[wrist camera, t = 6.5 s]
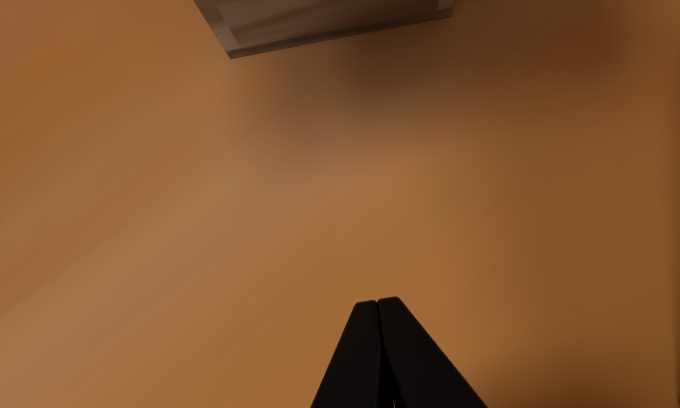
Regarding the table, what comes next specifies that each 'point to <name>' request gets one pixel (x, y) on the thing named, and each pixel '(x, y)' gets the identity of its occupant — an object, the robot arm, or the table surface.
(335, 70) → the table surface
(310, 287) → the table surface
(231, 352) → the table surface
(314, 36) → the crate
